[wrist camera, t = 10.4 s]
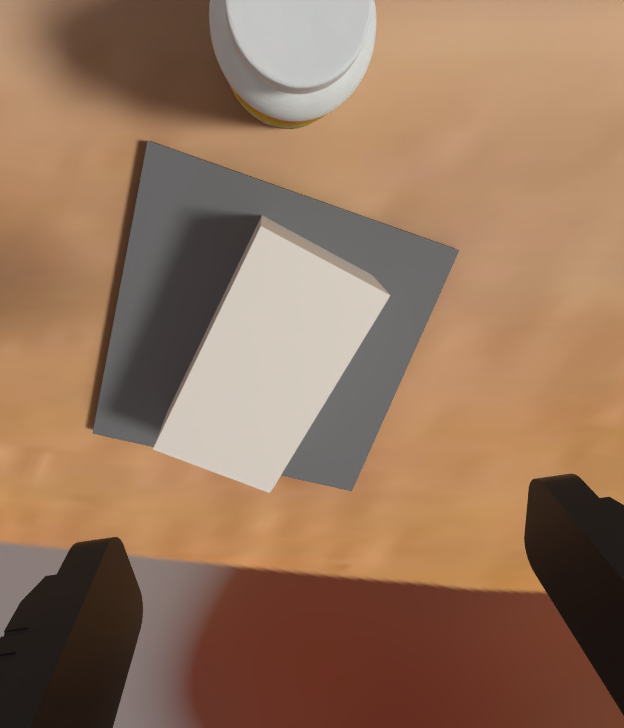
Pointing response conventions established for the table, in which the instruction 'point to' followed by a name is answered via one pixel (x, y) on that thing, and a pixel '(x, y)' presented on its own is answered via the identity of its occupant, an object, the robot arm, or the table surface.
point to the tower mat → (210, 280)
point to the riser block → (269, 357)
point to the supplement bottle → (292, 54)
